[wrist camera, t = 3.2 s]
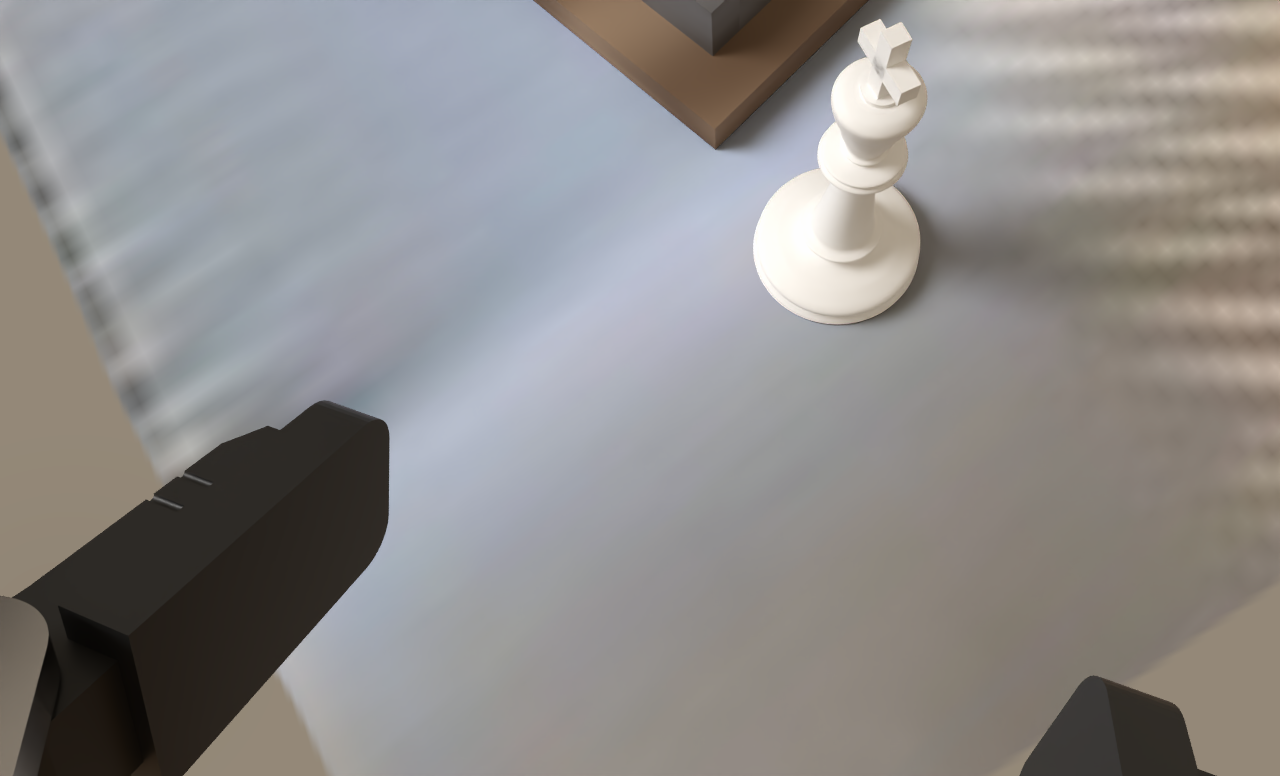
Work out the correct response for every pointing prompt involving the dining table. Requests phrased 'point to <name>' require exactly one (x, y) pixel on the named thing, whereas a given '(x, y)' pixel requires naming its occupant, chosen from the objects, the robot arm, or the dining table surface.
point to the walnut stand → (705, 49)
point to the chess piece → (850, 196)
